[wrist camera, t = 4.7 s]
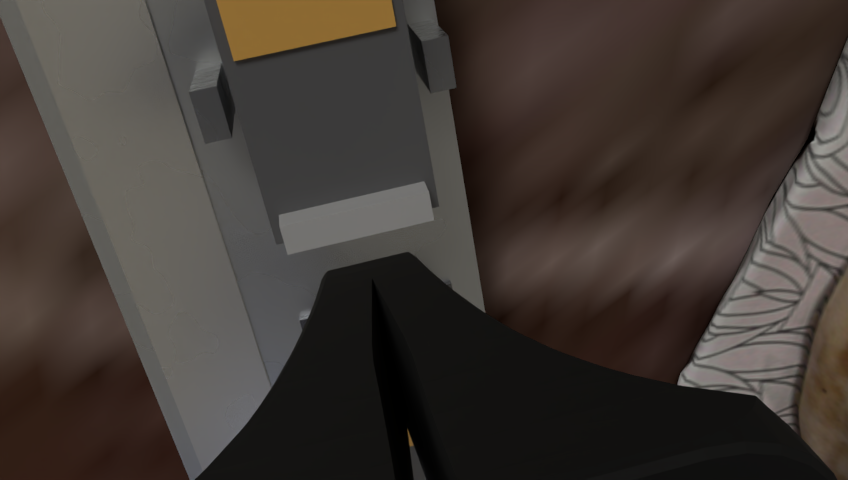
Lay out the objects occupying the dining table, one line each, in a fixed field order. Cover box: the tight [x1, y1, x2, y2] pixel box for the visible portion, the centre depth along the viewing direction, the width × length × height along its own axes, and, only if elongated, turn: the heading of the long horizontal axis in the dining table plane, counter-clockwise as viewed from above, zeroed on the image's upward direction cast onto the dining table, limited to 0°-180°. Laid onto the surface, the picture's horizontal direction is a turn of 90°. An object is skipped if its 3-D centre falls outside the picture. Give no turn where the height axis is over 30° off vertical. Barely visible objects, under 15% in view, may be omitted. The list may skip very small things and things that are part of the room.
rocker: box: [204, 0, 439, 255], centre depth 15 cm, size 5×3×2 cm, turn 10°
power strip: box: [0, 0, 485, 480], centre depth 17 cm, size 26×8×5 cm, turn 10°
